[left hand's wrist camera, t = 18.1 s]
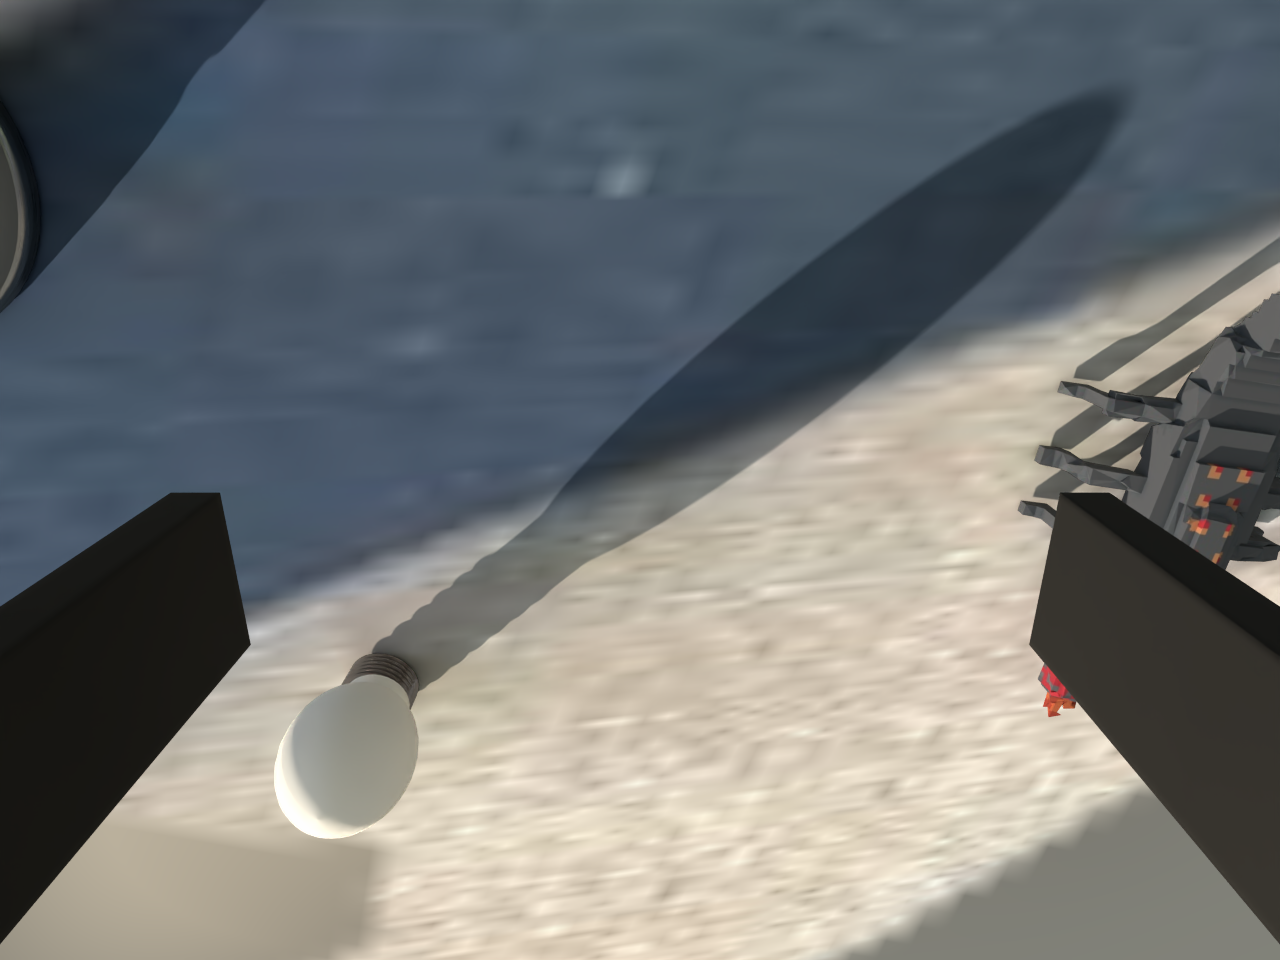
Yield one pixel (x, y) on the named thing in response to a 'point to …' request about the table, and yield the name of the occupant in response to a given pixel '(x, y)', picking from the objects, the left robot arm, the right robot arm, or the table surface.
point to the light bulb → (350, 750)
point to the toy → (1196, 454)
